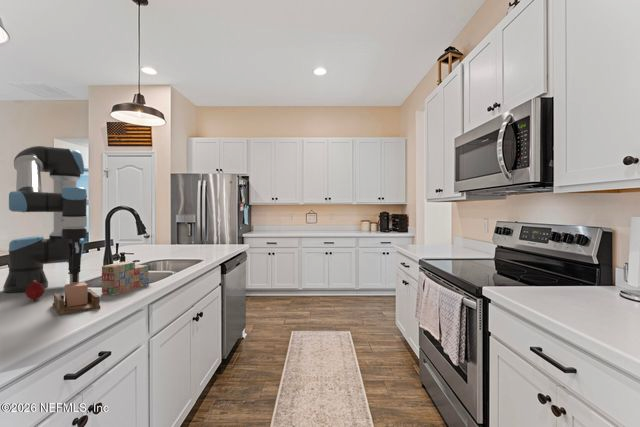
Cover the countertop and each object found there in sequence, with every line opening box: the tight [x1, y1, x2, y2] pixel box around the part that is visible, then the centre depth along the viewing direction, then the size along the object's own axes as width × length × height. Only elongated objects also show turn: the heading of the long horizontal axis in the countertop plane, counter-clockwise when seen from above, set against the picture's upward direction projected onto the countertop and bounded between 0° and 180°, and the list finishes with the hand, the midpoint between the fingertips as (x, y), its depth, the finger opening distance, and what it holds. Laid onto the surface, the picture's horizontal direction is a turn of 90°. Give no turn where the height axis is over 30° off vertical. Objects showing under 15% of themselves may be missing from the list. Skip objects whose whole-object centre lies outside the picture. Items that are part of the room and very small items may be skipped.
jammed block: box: [64, 281, 89, 307], centre depth 123 cm, size 6×6×7 cm
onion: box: [24, 280, 46, 301], centre depth 131 cm, size 6×6×8 cm
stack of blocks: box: [101, 261, 150, 295], centre depth 152 cm, size 21×6×12 cm, turn 170°
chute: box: [52, 288, 101, 317], centre depth 123 cm, size 16×12×4 cm
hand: (74, 290), depth 126 cm, fingers closed
